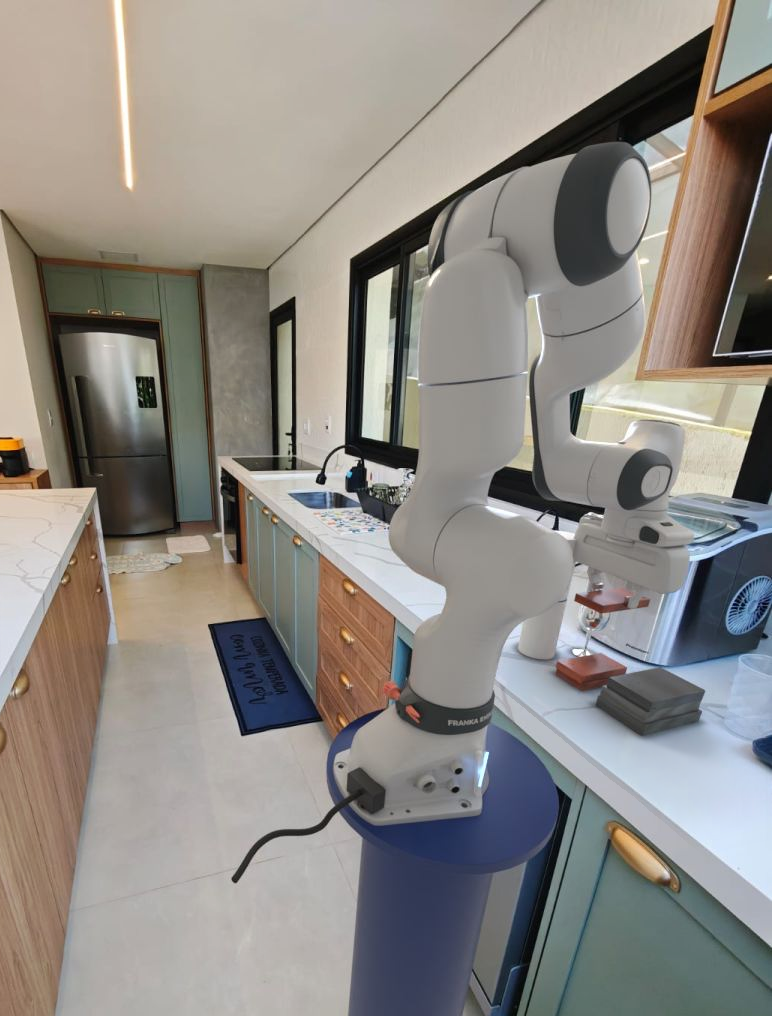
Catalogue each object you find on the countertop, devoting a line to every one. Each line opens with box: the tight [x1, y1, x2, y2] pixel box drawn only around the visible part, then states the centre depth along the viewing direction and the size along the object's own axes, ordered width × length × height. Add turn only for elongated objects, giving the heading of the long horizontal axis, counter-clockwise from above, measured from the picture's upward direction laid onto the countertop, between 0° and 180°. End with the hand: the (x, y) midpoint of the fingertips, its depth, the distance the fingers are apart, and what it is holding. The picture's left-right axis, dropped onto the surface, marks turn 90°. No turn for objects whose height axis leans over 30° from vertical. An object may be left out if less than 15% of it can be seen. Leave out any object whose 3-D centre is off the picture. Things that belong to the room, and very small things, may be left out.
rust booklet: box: [573, 587, 651, 614], centre depth 89 cm, size 11×6×2 cm, turn 110°
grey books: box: [595, 666, 706, 737], centre depth 84 cm, size 13×9×6 cm
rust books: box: [555, 652, 628, 692], centre depth 95 cm, size 11×6×3 cm, turn 110°
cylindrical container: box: [517, 529, 577, 660], centre depth 101 cm, size 7×7×25 cm
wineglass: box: [572, 604, 612, 657], centre depth 103 cm, size 6×6×12 cm
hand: (612, 599), depth 89 cm, fingers closed on rust booklet, 6 cm apart
